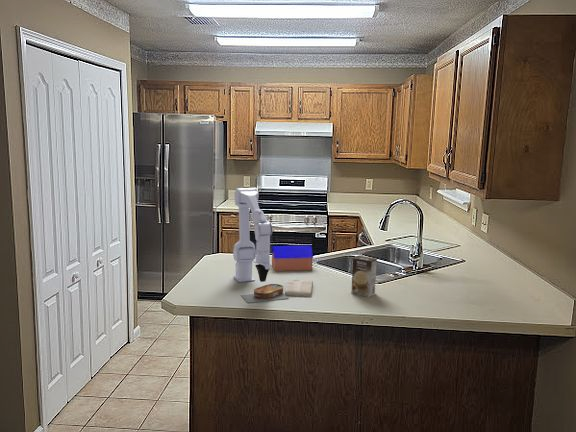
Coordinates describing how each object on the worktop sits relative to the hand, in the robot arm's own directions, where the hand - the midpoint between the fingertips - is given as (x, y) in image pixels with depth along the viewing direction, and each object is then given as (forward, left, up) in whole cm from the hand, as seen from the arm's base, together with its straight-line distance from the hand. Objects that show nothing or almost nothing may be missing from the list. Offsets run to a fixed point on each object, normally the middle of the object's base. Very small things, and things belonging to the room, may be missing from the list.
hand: (262, 281), depth 220 cm
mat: (+3, 0, -6) cm, 7 cm away
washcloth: (-2, +18, -7) cm, 19 cm away
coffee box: (+11, +43, -7) cm, 45 cm away
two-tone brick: (-38, +28, -7) cm, 48 cm away
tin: (-3, 0, -5) cm, 6 cm away
